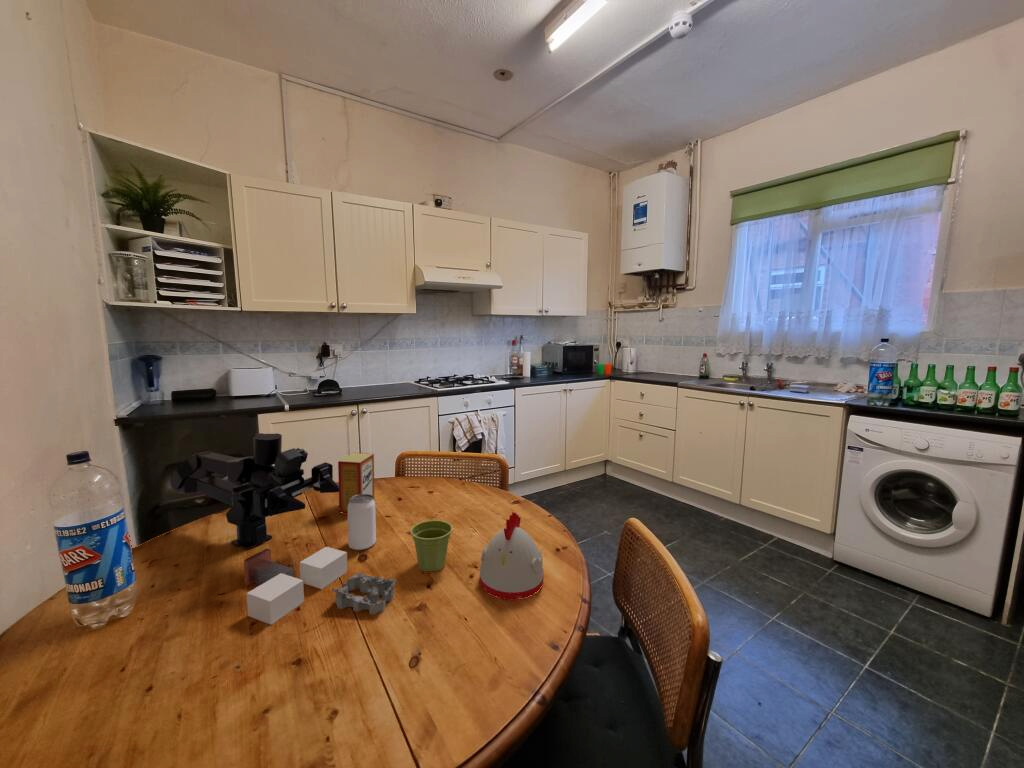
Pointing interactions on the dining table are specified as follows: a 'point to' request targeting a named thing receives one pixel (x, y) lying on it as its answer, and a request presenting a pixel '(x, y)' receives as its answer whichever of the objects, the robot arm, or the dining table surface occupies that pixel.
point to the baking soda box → (355, 477)
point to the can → (361, 522)
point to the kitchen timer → (511, 563)
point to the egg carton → (368, 586)
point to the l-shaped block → (263, 568)
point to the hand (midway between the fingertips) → (322, 497)
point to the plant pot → (431, 543)
